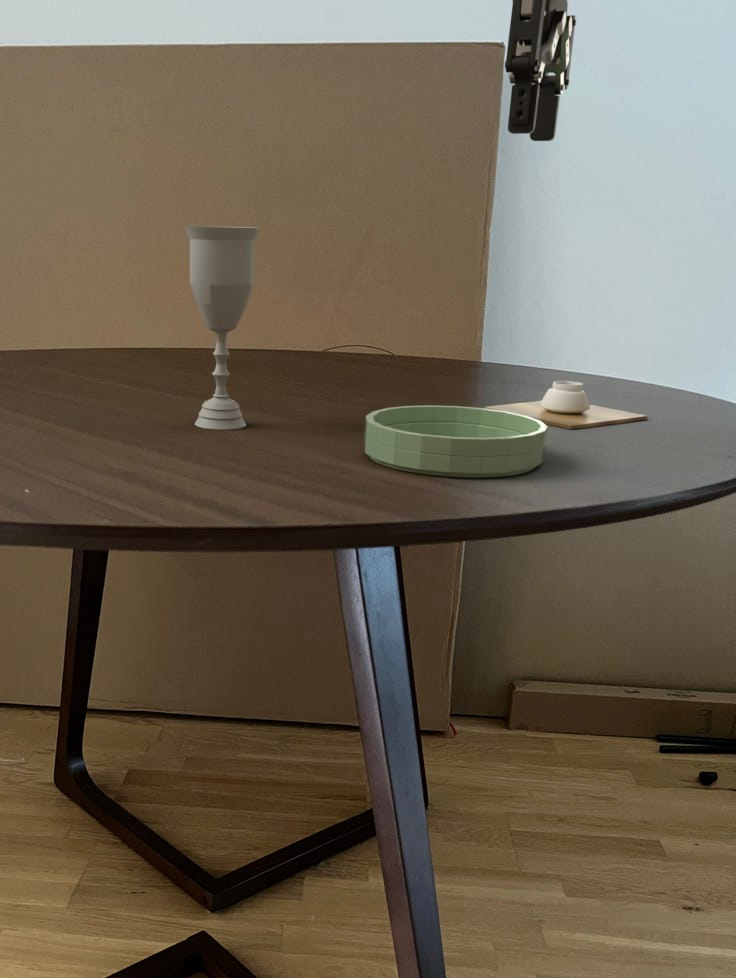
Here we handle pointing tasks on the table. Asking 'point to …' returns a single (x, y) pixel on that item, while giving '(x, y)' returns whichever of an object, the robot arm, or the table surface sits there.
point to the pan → (455, 441)
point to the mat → (571, 415)
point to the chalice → (221, 303)
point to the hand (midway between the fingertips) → (531, 137)
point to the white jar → (566, 398)
